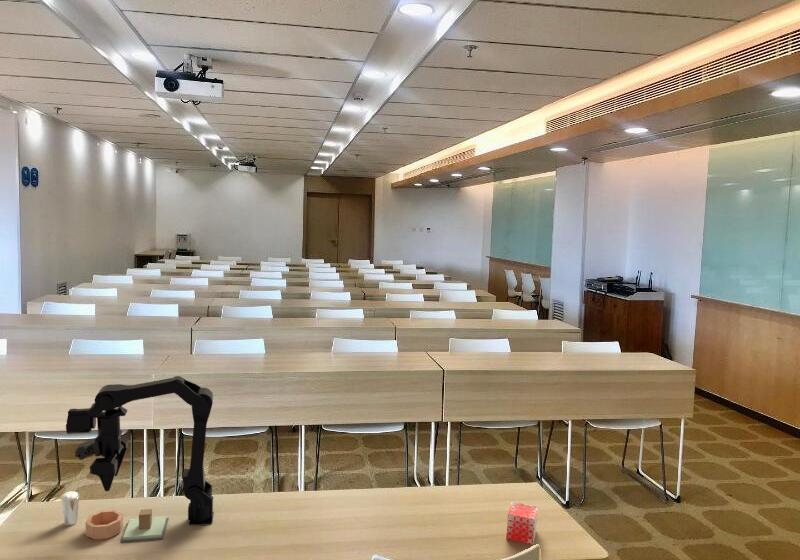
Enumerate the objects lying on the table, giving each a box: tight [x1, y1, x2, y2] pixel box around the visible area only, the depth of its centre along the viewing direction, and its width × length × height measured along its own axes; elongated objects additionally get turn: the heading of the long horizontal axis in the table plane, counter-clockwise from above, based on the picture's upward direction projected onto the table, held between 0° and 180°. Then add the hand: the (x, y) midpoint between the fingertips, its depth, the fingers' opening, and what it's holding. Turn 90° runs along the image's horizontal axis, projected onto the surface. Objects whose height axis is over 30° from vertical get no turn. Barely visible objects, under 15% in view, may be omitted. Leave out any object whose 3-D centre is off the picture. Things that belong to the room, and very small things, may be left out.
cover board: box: [122, 508, 168, 540], centre depth 174 cm, size 10×10×5 cm
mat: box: [120, 517, 169, 544], centre depth 174 cm, size 11×11×1 cm
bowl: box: [85, 509, 124, 541], centre depth 172 cm, size 9×9×4 cm
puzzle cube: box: [505, 501, 539, 545], centre depth 181 cm, size 8×8×8 cm
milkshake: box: [60, 490, 81, 527], centre depth 175 cm, size 4×5×10 cm
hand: (111, 483), depth 173 cm, fingers open, 9 cm apart
